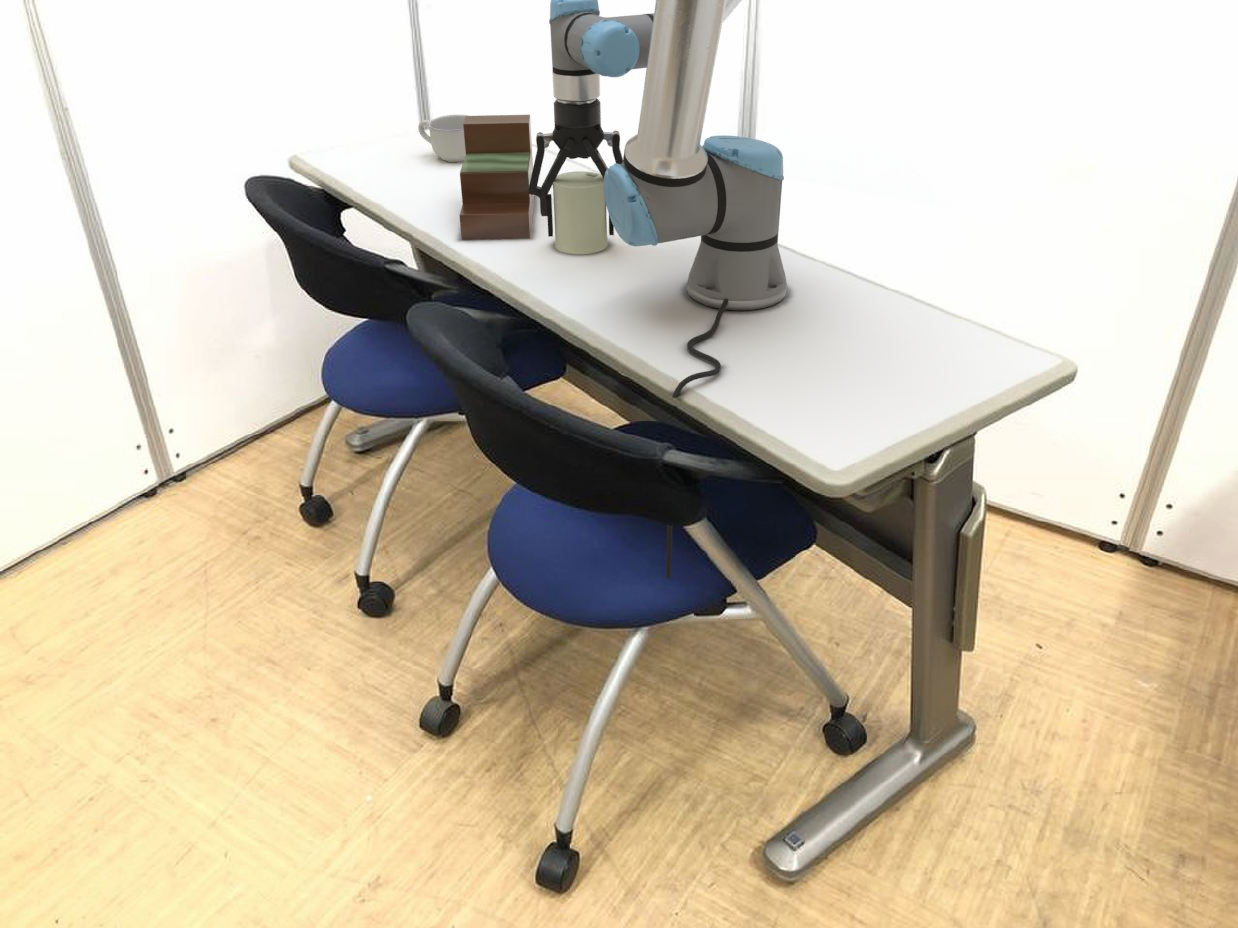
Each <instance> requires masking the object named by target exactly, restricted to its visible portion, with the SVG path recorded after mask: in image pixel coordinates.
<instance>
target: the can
mask: <svg viewBox="0 0 1238 928" xmlns="http://www.w3.org/2000/svg"><path fill="white" fill-rule="evenodd" d="M552 192H553V193H552V194H553V215H554V237H555V238H554V239H555V240H554V248H555V249H556V250H557V251H559V252H560V253H564V254H567V255H577V256H578V255H580V256H581V255H582V256H583V255H584V256H585V255H593V254H597V253H601V252H603V251H604V250H605V249H607V248H608V246H609V241H608V225H607V222H608V221H607V220H608V219H607V206H606V202H605V196H604V178H603V177H602V175H601V173H600V172H599V173H598V172H593V171H584V170H583V171H581V170H580V171H578V170H577V171H569V172H564V173H563V172H562V173H560V174H558V175H557V177H556V179H555V181H554V182H553V185H552Z"/></svg>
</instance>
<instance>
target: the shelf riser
mask: <svg viewBox="0 0 1238 928" xmlns="http://www.w3.org/2000/svg"><path fill="white" fill-rule="evenodd" d="M531 123H532V122H531V114H498V115H497V114H496V115H488V114H487V115H469V116H466V118H465V120H464V123H463V128H464V140H465V151H466V155H465V159H464V161H462V165H461V168H460V172H459V181H460V191H461V201H462V205H461V209H460V212H459V224H460V235H461V241H475V240H477V241H478V240H517V239H518V240H521V239H524V240H525V239H531V235H532V234H531V233H532V224H533V214H534V203H535V196H536V195H530V194H529V184H530V180H531V175H532V171H533V166H534V161H533V142H532V140H533V139H532V124H531Z"/></svg>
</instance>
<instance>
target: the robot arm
mask: <svg viewBox="0 0 1238 928" xmlns="http://www.w3.org/2000/svg"><path fill="white" fill-rule="evenodd" d="M742 1H743V0H655V3H654V10H653V11H654V12H653V13H643V14H632V15H631V14H630V15H620V16H610V17H609V16H608V17H606V16H600V15H601V10H600V7H599V6H600V5H599V0H550V1H549V2H550V4H549V20H548V22H549V27H550V47H551V67H552V69H551V70H552V72H551V73H552V74H551V75H552V96H553V97H554V99H555V101H554V102H553V119H554V128H553V130H552V132H550V133H543V132H541V131H540V132H539V131H538V132H537V133H536V137H535V141H536V149H537V150H536V153H535V157H534V161H533V171H532V175H531V180H530V184H529V194H530V195H535V196H536V197H538V198H539V208H540V209H539V211H540V216H541V217H546V218H547V236H548V238H550V237H551V238H552V237H554V223H553V222H554V221H553V201H552V198H553V197H552V193H549V192H550V190H551V189H552V188H553V182H554V181H555V179H556V177H557V175H559V173H560V171H561V169H562V167H563V165H564V164H565V162H566V160H567V159H569V160H575V159H578V158H579V159H583V160H585V159H587V160H588V159H589V158H590V159H591V161H592V162H593V163H594V165H595V166H596V168H597V170H598V171H599V174H601V175H602V177H603V178H604V196H605V202H606V211H607V213H608V234H609V236H614V235H615V232H616V233H617V235H618V237H619V238H620V239H621V240H622V242H624V243H625V244H627V245H628V246H631V247H644V246H652V247H653V246H657V245H658V244H662V243H669V242H674V241H680V240H685V239H686V240H687V239H692V238H698V237H700V243H699V247H698V249H697V251H696V255H695V257H694V259H693V263H692V266H691V268H690V270H689V274H688V278H687V289H686V290H687V293H688V295H689V296H690V298H691V299H693V300H694V301H696V302H698V303H699V304H702V305H705V306H707V307H709V308H710V307H711V308H714V309H718V311H717V313H716V316H715V319H714V321H713V324H712V325H711V328H710V329H708V330H707V331H706V332H704V333H702V334H699V335H697V336H694V337H692V338H691V339H689V340H688V342H687V343H686V349H687V350H688V352H689V353H690V354H692V355H694V356H695V357H698V358H700V359H703V360H705V361H707V362H709V363H711V364H713V365H714V368H713V369H710V370H706V371H701V372H697V373H693V374H690V375H688V376H687V377H685V378H683V379H682V380H681V381H680V382H679V383H678V384H677V386H676V387H675V389H674V391H673V394H672V398H673V399H677V398H679V396H680V393H681V392H682V390H683V389H684V387H685V386H687V385H688V384H689V383H691V382H693V381H696V380H698V379H703V378H709V377H713V376H715V375H718V373H720V371H721V369H722V365H721V363H720V361H719V360H718V359H716V358H715V357H713V356H711V355H709V354H707V353H705V352H702V351H699V350H698V349H696V348H695V347H694V346H693V345H694V344H696V343H697V342H698V343H699V342H700V341H704V340H705V339H707V338H709V337H711V336H712V335H714V334H715V332H716V331H717V330H718V328H719V325H720V322H721V319H722V316H723V314H724V312H725V310H728V311H752V310H759V309H764V308H768V307H771V306H774V305H777V304H778V303H780V302H781V301H782V300H784V299H785V298H786V295H787V287H788V286H787V285H788V283H787V276H786V272H785V268H784V264H783V260H782V256H781V253H780V249H779V244H778V243H779V231H780V218H781V217H780V216H781V204H782V203H781V202H782V193H783V192H782V190H783V181H784V180H785V175H784V156H783V153H782V151H781V150H780V149H779V148H778V147H777V146H775V145H774V144H771V143H769V142H767V141H765V140H760V139H756V138H751V137H745V136H739V135H724V134H723V135H712V136H709V137H706V138H705V139H704V142H703V144H701V142H702V141H701V140H702V135H703V129H704V124H705V119H706V113H707V109H708V103H709V98H710V92H711V87H712V80H713V75H714V70H715V66H716V65H715V64H716V61H717V60H716V59H717V54H718V48H719V43H720V38H721V32H722V27H723V23H724V22H725V21H726V20H727V19H728V17H730V16H731V14H733V12H734V11H735V9H736V8H737V7H739V5H740V4H741V3H742ZM639 69H646V71H645V78H644V83H643V93H642V100H641V108H640V115H639V122H638V129H637V134H635V135H633V136H632V137H630V138H629V139H628V140H627V141H626V143H625V145H624V150H623V155H622V151H621V147H620V146H621V134H620V132H619V131H618V130H614V131H613V132H609V131H604V130H603V128H602V117H601V116H602V114H601V110H602V109H601V101H600V99H599V97H601V77H608V78H620V77H623V76H625V75H626V74H628V73H630V71H632V70H639ZM603 141H606V144H607V146H608V147H611V150H612V155H613V158H614V161H615V163H614V164H612V165H610V166H609V167H608V166H607V164H606V162H605V161H604V159H603V156H601V153H600V150H598V148H599V146H600V145H601V144H602V142H603ZM551 142H553V143H554V144H555V145H556V147H557V148H558V149H559V150H558V152H557V155H556V157H555V159H554V161H553V163H552V165H551V166H550V169H549V171H548V172H547V175H546V177H545V179H544V181H543V182H542V185H541V186H539V185H538V183H539V180H540V175H541V171H542V167H543V161H544V157H545V151H546V149H547V148H549V147H550V143H551ZM672 561H673V525H672V526H670V525H667V524H666V564H665V565H666V567H665V568H666V569H665V570H666V572H665V578H666V579H667V580H670V579H672V566H673V565H672V564H673V562H672Z"/></svg>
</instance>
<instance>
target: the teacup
mask: <svg viewBox="0 0 1238 928" xmlns="http://www.w3.org/2000/svg"><path fill="white" fill-rule="evenodd" d="M466 116H470V115H467V114H447V115H442V116H438V117H435V118H433V119H423V120H421V121H420V122H419V124H418V132H419V134H420V137H422V138H423V139H424V140H425V142H427V143H429V145H431V148H432V151H433V153H434V154H435V155H436V156H437V157H438V158H440V159H441V160H442V161H444V162H449V163H461V162H462V163H463V162H464V159H465V155H466V151H465V140H464V128H463V123H464V120H465V118H466ZM425 126H428V128H429V134H427V132H426V131H425Z"/></svg>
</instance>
